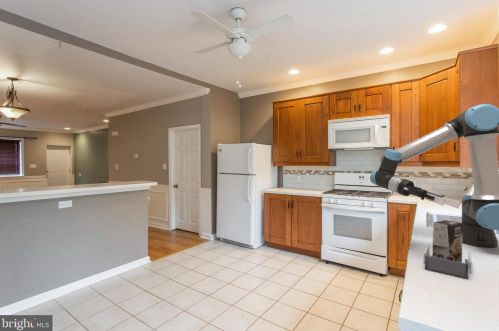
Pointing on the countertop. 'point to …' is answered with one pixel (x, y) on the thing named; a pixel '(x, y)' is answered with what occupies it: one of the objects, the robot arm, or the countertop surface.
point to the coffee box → (447, 240)
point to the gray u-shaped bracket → (447, 265)
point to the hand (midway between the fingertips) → (451, 203)
